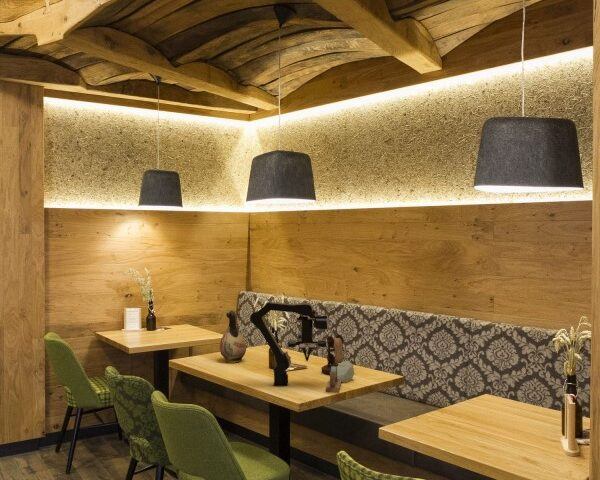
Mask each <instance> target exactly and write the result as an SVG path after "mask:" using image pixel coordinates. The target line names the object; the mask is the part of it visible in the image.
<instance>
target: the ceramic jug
mask: <svg viewBox="0 0 600 480" xmlns="http://www.w3.org/2000/svg"><path fill="white" fill-rule="evenodd" d="M226 318H228V326H227V328H226V330H225V332H224V333H223V334H222V337H221V339H220V342H219V353H220V355H221V356H222V357H223V359H224V360H225V362H226V363H233V364H234V363H238V362H241V361H242V360H243V357H244V356H245V354H246V351H247V344H246V343H247V342H246V341H245V340H246V339H245V337H244V335H243V334H242V332H241V331H240V330H239V328H238V327H237V326H236V325H237V322H236V320H237V319H236V313H235V311H234V310H230V311H229V312H226Z"/></svg>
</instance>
